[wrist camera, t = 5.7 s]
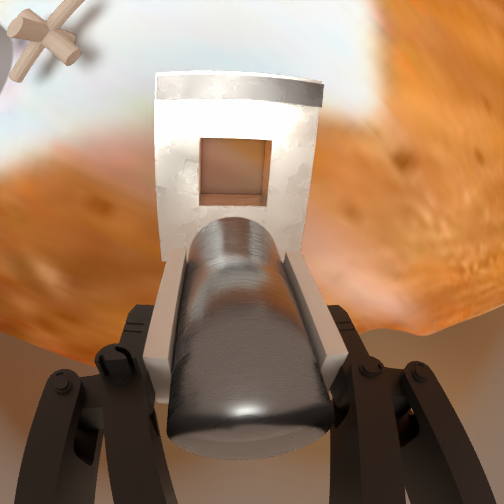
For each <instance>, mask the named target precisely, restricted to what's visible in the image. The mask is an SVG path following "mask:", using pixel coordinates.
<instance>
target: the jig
mask: <svg viewBox="0 0 504 504" xmlns="http://www.w3.org/2000/svg"><path fill="white" fill-rule="evenodd" d="M321 82H322V81H316V80H310V79H304V78H297V77H290V76H282V75H273V74H262V73H249V72H230V71H184V72H165V73H156V88H155V178H156V198H157V214H158V227H159V238H160V248H161V258H162V262H167V259H168V255H169V252H170V249H171V248H186V255H187V261H188V256H189V250H190V246H191V243H192V241H193V239H194V237H195V236H196V234H197V233H198V232H199V231H200V230H201V229H202V228H203V227H204V226H206V225H207V224H209V223H211V222H213V221H215V220H217V219H221V218H226V217H243V218H247V219H250V220H253V221H255V222H257V223H259V224H260V225H262V226H263V227H264V228H265V229H266V230H267V231H268V232H269V233H270V234H271V236H272V238H273V239H274V242H275V244H276V247H277V250H278V252H279V255H280V258H281V261H284V257H285V251H300V250H301V244H302V238H303V231H304V225H305V218H306V212H307V205H308V198H309V190H310V183H311V176H312V168H313V160H314V152H315V143H316V134H317V125H318V115H319V107H322V99H323V88H324V84H321ZM202 138H243V139H263V140H266V142H265V155H264V168H263V180H262V193H261V195H244V194H201V151H202Z"/></svg>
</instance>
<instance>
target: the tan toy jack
mask: <svg viewBox="0 0 504 504" xmlns="http://www.w3.org/2000/svg"><path fill="white" fill-rule="evenodd" d="M84 1H85V0H64V1H63V2H62V3H61V4H60V5H59V7H58V8H57V9H56V10H55V11H54V12H53V13H52V15H51V16H50V17H49V18H48V19H47V21H44V20H43V19H42V18H41V17H39V16H38V15H37V14H35V13H34V12H33V11H32V10H30V9H25V10H23V11H22V12H21V13H20V14H19V15H18V17H17V18H15V19H14V20H13V21H12V22H11V23H10V25H9V27H8V30H7V36H8V37H11V38H17V39H23V40H29V41H31V42H30V43H29V45H28V46H27V48H26V49H25V50H24V52H23V53H22V55H21V57H20V58H19V60H18V61H17V63H16V64H15V66H14V68H13V69H12V71H11V73H10V74H9V78H10V79H11V80H13V81H15V82H19V83H20V82H22V81H23V79H24V77H25V76H26V74H27V72H28V71H29V69H30V68H31V66H32V65H33V63H34V62H35V60H36V59H37V57H38V56H39V55H40V53H41V52H42V50H43V49H44V48H45V47H46V48H47V49H48V50H49V51H50V52H51V53H53V54H54V55H55V56H56V57H57V58H58V59H59V60H61V61H62V62H63V63H64V64H65V65H66V66H69V65H71V64H73V63H74V62H75V61H76V60H77V59H78V58H79V56H80V55H81V50H80V49H79V48H78V47H77V46H75V45H74V44H75V42H76V35H75V34H73V33H70V32H67V31H64V30H62V29H59V28H60V27H61V26H62V25H63V24H64V22H65V21H66V20H67V19H68V18H69V17H70V16H71V14H72V13H73V12H74V11H75V10H76V9H77V8H78V7H79V6H80V5H81V4H82V3H83V2H84Z"/></svg>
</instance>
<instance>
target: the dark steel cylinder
mask: <svg viewBox="0 0 504 504" xmlns="http://www.w3.org/2000/svg"><path fill="white" fill-rule="evenodd" d="M334 421H335V413H334V410H333V407H332V403H331V400H330V398H329V394H328V391H327V388H326V385H325V382H324V379H323V376H322V373H321V370H320V368H319V365H318V362H317V359H316V356H315V353H314V350H313V347H312V344H311V341H310V338H309V336H308V333H307V330H306V327H305V324H304V321H303V319H302V316H301V313H300V310H299V307H298V304H297V302H296V299H295V296H294V293H293V291H292V288H291V285H290V282H289V280H288V277H287V274H286V271H285V269H284V266H283V263H282V261H281V258H280V255H279V252H278V250H277V247H276V244H275V242H274V239H273V238H272V236H271V234H270V233H269V232H268V231H267V230H266V229H265V228H264V227H263V226H262V225H260V224H259V223H257V222H255V221H253V220H250V219H247V218H243V217H226V218H221V219H217V220H215V221H213V222H211V223H209V224H207V225H206V226H204V227H203V228H202V229H201V230H200V231H199V232H198V233H197V234H196V236H195V237H194V239H193V241H192V243H191V246H190V250H189V256H188V261H187V267H186V273H185V279H184V285H183V291H182V298H181V304H180V311H179V318H178V325H177V333H176V340H175V348H174V357H173V366H172V375H171V384H170V394H169V406H168V418H167V435H168V437H169V439H170V440H171V441H172V442H173V443H174V444H175V445H177V446H178V447H180V448H181V449H183V450H185V451H188V452H190V453H193V454H196V455H200V456H203V457H208V458H214V459H222V460H252V459H261V458H268V457H273V456H277V455H281V454H285V453H288V452H291V451H294V450H297V449H300V448H302V447H304V446H306V445H308V444H310V443H312V442H314V441H316V440H317V439H319V438H320V437H322V436H323V435H324V434H325V433H326V432H328V430H329V429H330V428H331V427H332V425H333V424H334Z"/></svg>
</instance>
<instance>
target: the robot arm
mask: <svg viewBox="0 0 504 504" xmlns="http://www.w3.org/2000/svg"><path fill="white" fill-rule="evenodd" d="M283 266H284V269H285V271H286V274H287V277H288V280H289V282H290V285H291V288H292V291H293V293H294V296H295V299H296V302H297V304H298V307H299V310H300V313H301V316H302V319H303V321H304V324H305V327H306V330H307V333H308V336H309V338H310V341H311V344H312V347H313V350H314V353H315V356H316V359H317V362H318V365H319V368H320V370H321V373H322V376H323V379H324V382H325V385H326V388H327V391H328V392H329V390H330V391H331V394H332V397H333V399H332V400H331V403H332V407H333V410H334V413H335V421H334V424H333V425H332V427H331V428H330V496H329V504H406V500H405V489H406V491H407V494H408V497H409V500H410V503H411V504H496V501H495V498H494V495H493V493H492V490H491V488H490V485H489V483H488V480H487V478H486V475H485V473H484V470H483V468H482V466H481V464H480V461H479V459H478V457H477V455H476V452H475V450H474V448H473V446H472V444H471V442H470V440H469V438H468V436H467V434H466V432H465V430H464V428H463V426H462V424H461V422H460V420H459V418H458V416H457V414H456V412H455V410H454V408H453V407H452V405H451V403H450V401H449V399H448V398H447V396H446V394H445V392H444V391H443V389H442V387H441V385H440V384H439V382H438V380H437V378H436V377H435V375H434V373H433V372H432V370H431V369H430V368H429V366H427V365H426V364H424V363H422V362H419V361H412V362H410V363H408V364H407V366H406V367H405V368H404V369H394V368H387V367H384V366H383V364H382V363H381V362H380V361H379V360H378V359H376V358H374V357H371V356H369V354H368V352H367V350H366V348H365V346H364V344H363V343H362V340H361V339H360V337H359V335H358V333H357V331H356V330H355V327H354V325H353V323H351V322H352V321H351V319H350V317H349V315H348V314H347V312H346V311H345V310H344V309H342V308H341V307H340V306H339V305H328V306H327V305H326V303H325V301H324V299H323V297H322V295H321V293H320V291H319V288H318V286H317V284H316V282H315V280H314V278H313V276H312V274H311V272H310V270H309V268H308V266H307V264H306V262H305V260H304V258H303V256H302V254H301V252H300V251H285V257H284V263H283ZM186 267H187V255H186V248H171V249H170V252H169V255H168V259H167V262H166V266H165V269H164V273H163V276H162V280H161V283H160V287H159V291H158V295H157V298H156V302H155V306H154V305H136V306H135V307H134V308H133V309H132V310H131V311H130V312H129V314H128V317H127V320H126V324H125V326H124V329H123V332H122V336H121V339H120V342H119V344H111V345H107V346H105V347H104V348H102V349H101V350H100V351H99V352H98V353H97V354H96V357H95V361H94V362H95V364H96V366H97V368H98V370H99V372H100V374H98V375H94V376H86V377H79V376H78V375H77V374H76V373H75V372H74V371H72V370H69V369H62V370H58V371H55V372H54V373H53V374H52V375H50V377H49V379H48V380H47V382H46V385H45V388H44V390H43V393H42V396H41V399H40V401H39V405H38V407H37V411H36V413H35V416H34V420H33V422H32V426H31V429H30V432H29V436H28V439H27V443H26V447H25V451H24V455H23V459H22V463H21V468H20V473H19V477H18V483H17V489H16V495H15V502H14V504H94V500H95V490H96V481H97V473H98V465H99V459H100V452H101V446H102V440H103V435H104V437H105V447H106V456H107V464H108V472H109V478H110V485H111V490H112V496H113V501H114V504H178V502H177V499H176V496H175V492H174V489H173V485H172V482H171V478H170V474H169V470H168V467H167V463H166V459H165V454H164V450H163V445H162V441H161V436H160V431H159V427H158V421H157V417H156V412H155V410H154V401H155V397H156V400H157V403H169V394H170V384H171V375H172V366H173V357H174V348H175V340H176V333H177V325H178V318H179V311H180V304H181V298H182V291H183V285H184V279H185V273H186ZM411 408H412V410H413V412H414V413H413V412H412V411H411Z"/></svg>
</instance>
